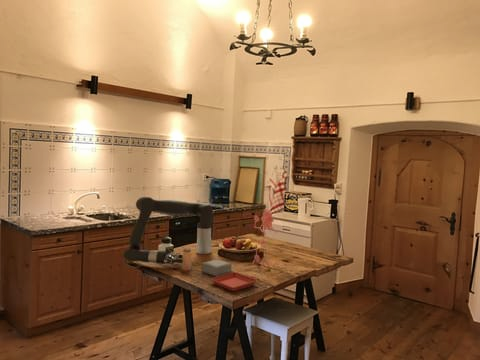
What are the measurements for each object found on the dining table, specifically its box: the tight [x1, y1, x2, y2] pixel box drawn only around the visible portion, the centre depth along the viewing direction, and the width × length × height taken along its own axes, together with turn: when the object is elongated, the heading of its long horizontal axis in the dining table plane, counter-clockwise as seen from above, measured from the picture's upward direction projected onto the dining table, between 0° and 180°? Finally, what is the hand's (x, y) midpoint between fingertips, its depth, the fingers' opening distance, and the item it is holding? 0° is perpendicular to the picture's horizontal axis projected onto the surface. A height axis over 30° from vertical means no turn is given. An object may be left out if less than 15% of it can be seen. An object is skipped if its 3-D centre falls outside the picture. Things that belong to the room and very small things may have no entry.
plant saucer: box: [210, 271, 258, 292], centre depth 214 cm, size 18×18×3 cm
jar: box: [181, 247, 192, 272], centre depth 236 cm, size 5×5×12 cm
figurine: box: [252, 208, 278, 269], centre depth 249 cm, size 15×26×35 cm, turn 28°
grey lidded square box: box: [201, 258, 232, 277], centre depth 234 cm, size 12×12×5 cm
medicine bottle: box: [157, 236, 175, 254], centre depth 262 cm, size 7×7×12 cm
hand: (184, 259), depth 236 cm, fingers open, 8 cm apart
